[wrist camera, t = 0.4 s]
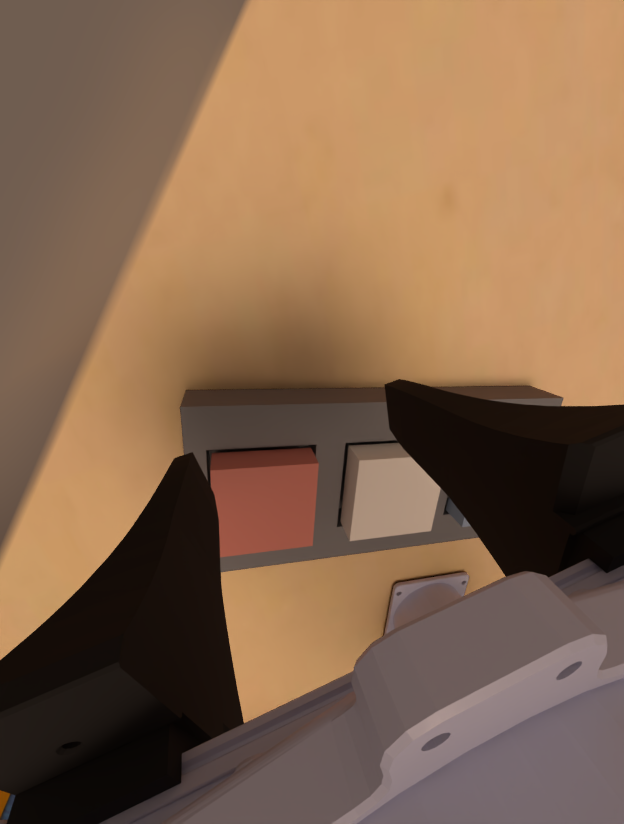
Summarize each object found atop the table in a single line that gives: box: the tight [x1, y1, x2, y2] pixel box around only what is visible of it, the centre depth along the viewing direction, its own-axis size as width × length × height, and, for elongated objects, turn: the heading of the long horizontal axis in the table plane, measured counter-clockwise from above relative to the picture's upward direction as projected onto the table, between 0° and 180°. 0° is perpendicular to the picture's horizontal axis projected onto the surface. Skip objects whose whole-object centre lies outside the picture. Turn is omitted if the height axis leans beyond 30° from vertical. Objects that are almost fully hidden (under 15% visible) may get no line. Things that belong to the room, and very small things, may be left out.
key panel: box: [180, 386, 563, 572], centre depth 25 cm, size 12×26×3 cm, turn 86°
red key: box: [210, 448, 319, 557], centre depth 21 cm, size 6×6×2 cm
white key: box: [340, 443, 441, 541], centre depth 23 cm, size 6×6×2 cm
